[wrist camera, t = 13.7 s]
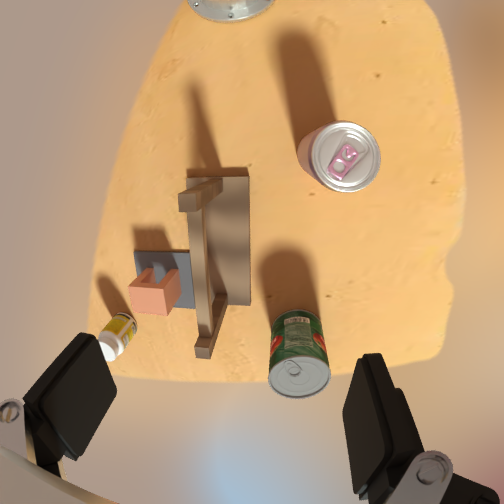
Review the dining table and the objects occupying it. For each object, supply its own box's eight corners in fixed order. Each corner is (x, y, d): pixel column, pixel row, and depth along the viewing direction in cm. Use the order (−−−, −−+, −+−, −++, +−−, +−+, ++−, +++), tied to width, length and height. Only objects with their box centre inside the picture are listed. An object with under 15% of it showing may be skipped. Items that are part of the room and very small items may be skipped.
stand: (188, 177, 37) (144, 193, 24) (249, 175, 36) (233, 190, 24) (198, 299, 43) (169, 356, 30) (250, 301, 42) (239, 362, 30)
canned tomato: (329, 337, 44) (340, 386, 33) (286, 356, 46) (286, 406, 35) (308, 300, 42) (315, 346, 31) (261, 322, 44) (256, 371, 33)
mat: (134, 251, 41) (133, 252, 41) (190, 252, 41) (189, 253, 40) (143, 303, 44) (142, 304, 44) (195, 307, 44) (195, 308, 43)
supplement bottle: (110, 318, 46) (86, 344, 39) (125, 307, 45) (101, 334, 37) (127, 337, 48) (106, 366, 40) (143, 328, 46) (122, 358, 38)
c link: (146, 267, 42) (127, 286, 36) (178, 269, 41) (163, 288, 35) (150, 291, 43) (133, 312, 37) (181, 293, 43) (167, 315, 37)
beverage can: (287, 158, 35) (293, 163, 21) (314, 121, 33) (338, 103, 19) (325, 186, 36) (353, 210, 22) (351, 150, 34) (396, 152, 20)
